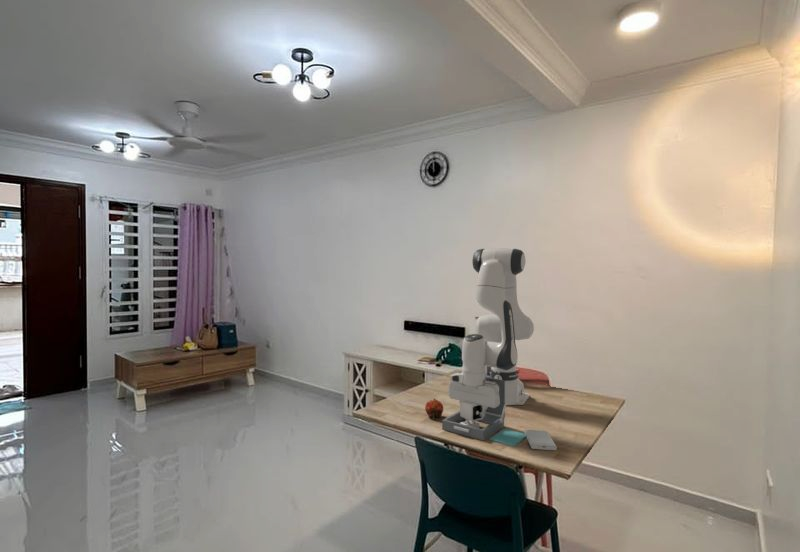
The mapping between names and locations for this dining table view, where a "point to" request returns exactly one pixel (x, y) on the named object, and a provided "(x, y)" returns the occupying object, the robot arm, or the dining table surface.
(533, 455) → the dining table surface
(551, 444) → the hard drive
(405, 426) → the dining table surface
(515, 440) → the teal mat
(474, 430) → the equipment case
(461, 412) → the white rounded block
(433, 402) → the pomegranate
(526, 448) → the dining table surface
